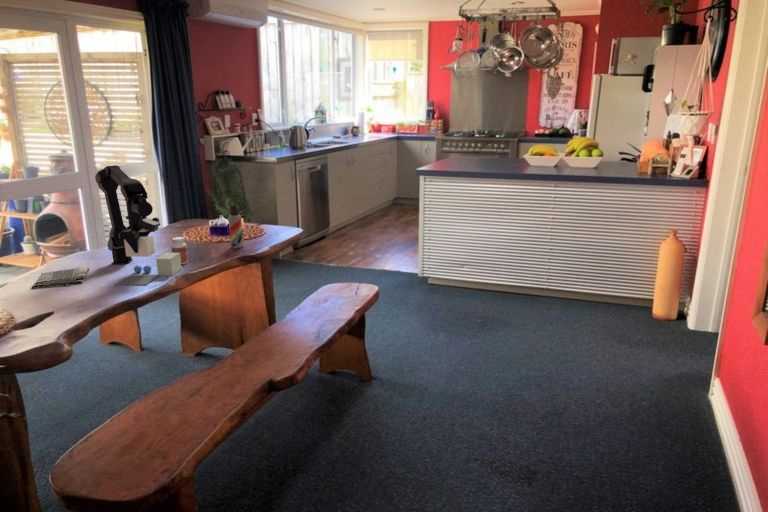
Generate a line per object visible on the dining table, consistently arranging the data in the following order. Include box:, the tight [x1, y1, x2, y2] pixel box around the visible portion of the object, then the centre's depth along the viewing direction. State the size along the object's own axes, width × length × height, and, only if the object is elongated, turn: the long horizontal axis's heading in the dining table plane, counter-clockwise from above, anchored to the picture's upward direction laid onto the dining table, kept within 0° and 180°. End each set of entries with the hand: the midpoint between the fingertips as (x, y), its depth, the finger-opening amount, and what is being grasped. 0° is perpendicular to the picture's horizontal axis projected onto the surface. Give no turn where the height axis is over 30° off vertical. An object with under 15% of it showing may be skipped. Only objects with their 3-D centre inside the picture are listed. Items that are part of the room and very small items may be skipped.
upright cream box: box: [124, 235, 156, 258], centre depth 226 cm, size 9×6×7 cm, turn 87°
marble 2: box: [142, 265, 152, 274], centre depth 228 cm, size 3×3×3 cm
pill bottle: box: [170, 236, 189, 265], centre depth 240 cm, size 6×6×11 cm
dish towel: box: [31, 267, 90, 289], centre depth 221 cm, size 19×18×3 cm
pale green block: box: [156, 252, 183, 277], centre depth 228 cm, size 9×6×7 cm, turn 177°
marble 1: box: [133, 264, 143, 274], centre depth 229 cm, size 3×3×3 cm
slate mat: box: [115, 274, 161, 286], centre depth 219 cm, size 12×12×1 cm
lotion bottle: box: [228, 205, 244, 249], centre depth 265 cm, size 6×6×20 cm
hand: (140, 250), depth 226 cm, fingers closed on upright cream box, 6 cm apart
